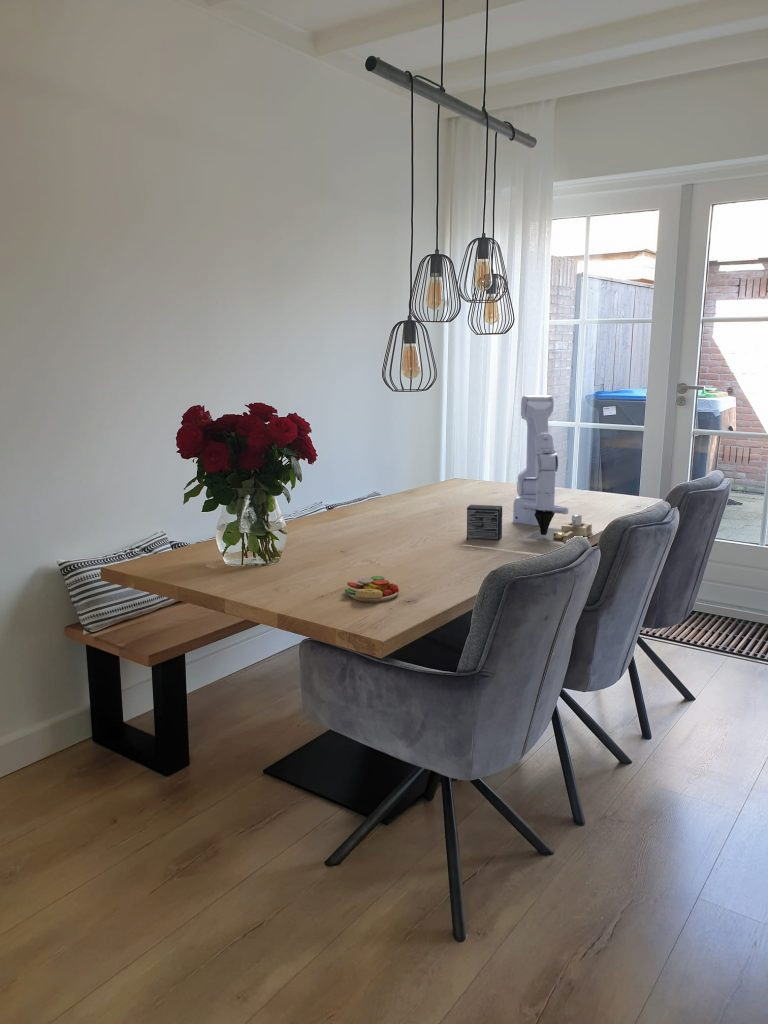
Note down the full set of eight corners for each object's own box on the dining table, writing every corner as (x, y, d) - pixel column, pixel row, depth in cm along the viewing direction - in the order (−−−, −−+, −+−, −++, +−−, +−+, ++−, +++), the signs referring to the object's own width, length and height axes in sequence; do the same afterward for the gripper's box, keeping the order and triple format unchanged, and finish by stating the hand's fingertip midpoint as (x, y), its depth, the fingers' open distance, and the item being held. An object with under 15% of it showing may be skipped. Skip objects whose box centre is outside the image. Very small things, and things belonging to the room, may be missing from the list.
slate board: (526, 539, 258) (526, 537, 258) (544, 528, 272) (544, 527, 272) (573, 544, 250) (573, 543, 250) (589, 533, 265) (589, 532, 265)
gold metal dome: (551, 539, 255) (551, 533, 255) (555, 536, 259) (556, 531, 258) (564, 540, 253) (564, 535, 253) (568, 538, 257) (568, 532, 256)
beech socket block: (561, 534, 261) (561, 525, 261) (568, 530, 268) (568, 521, 267) (584, 537, 258) (585, 528, 257) (591, 532, 264) (591, 523, 264)
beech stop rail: (562, 541, 252) (563, 535, 252) (569, 537, 258) (569, 531, 257) (566, 542, 252) (566, 535, 251) (572, 537, 257) (573, 531, 257)
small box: (502, 537, 261) (503, 505, 259) (499, 542, 254) (500, 509, 252) (469, 535, 263) (470, 503, 261) (466, 540, 257) (466, 507, 255)
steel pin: (569, 534, 262) (570, 515, 261) (573, 532, 265) (574, 514, 263) (578, 535, 261) (579, 516, 259) (582, 533, 263) (583, 515, 262)
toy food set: (364, 607, 193) (364, 594, 192) (334, 594, 203) (334, 581, 203) (409, 597, 200) (409, 584, 200) (378, 584, 211) (378, 572, 210)
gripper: (518, 492, 256) (517, 534, 258) (564, 496, 249) (562, 539, 251) (526, 488, 262) (525, 529, 264) (571, 492, 255) (569, 534, 258)
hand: (543, 534), depth 258 cm, fingers closed
